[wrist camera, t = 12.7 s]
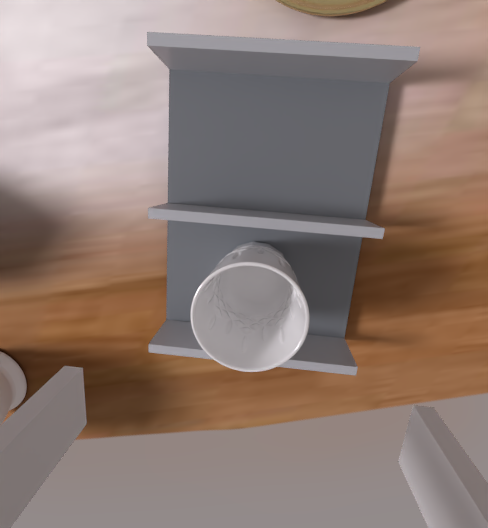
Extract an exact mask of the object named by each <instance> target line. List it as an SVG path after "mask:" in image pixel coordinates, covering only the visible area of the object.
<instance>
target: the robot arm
mask: <svg viewBox="0 0 488 528" xmlns="http://www.w3.org/2000/svg"><path fill="white" fill-rule="evenodd" d="M86 424H87V420H86V406H85V392H84V377H83V368H80V367H71V366H64V367H63V368H62V369H61V370H59V371H58V372H57V373H56V374H55V375H54V376H53V377H52V378H51V379H50V380H49V381H48V382H47V383H46V384H44V385H43V386H42V387H41V388H40V389H39V390H38V391H37V392H36V393H35V394H34V395H33V396H32V397H31V398H29V399H28V400H27V401H26V402H25V403H24V404H23V405H22V406H21V407H20V408H19V409H18V410H17V411H15V412H14V413H13V414H12V415H11V416H10V417H9V418H8V419H7V420H6V421H5V422H4V423H3V424H2V425H0V528H11V526H12V525H13V524H14V522H15V521H16V520H17V518H18V517H19V515H20V514H21V513H22V511H23V510H24V509H25V507H26V506H27V505H28V503H29V502H30V501H31V499H32V498H33V496H34V495H35V494H36V492H37V491H38V490H39V488H40V487H41V486H42V484H43V483H44V481H45V480H46V479H47V477H48V476H49V474H50V473H51V472H52V471H53V469H54V468H55V466H56V465H57V464H58V462H59V461H60V460H61V458H62V457H63V456H64V454H65V453H66V451H67V450H68V449H69V447H70V446H71V445H72V443H73V442H74V440H75V439H76V438H77V436H78V435H79V434H80V432H81V431H82V430H83V428H84V427H85V425H86ZM398 462H399V464H400V466H401V469H402V471H403V473H404V475H405V477H406V479H407V482H408V484H409V486H410V488H411V491H412V493H413V495H414V497H415V499H416V502H417V504H418V506H419V508H420V510H421V512H422V515H423V517H424V519H425V521H426V524H427V526H428V528H488V483H487V482H486V480H485V479H484V477H483V476H482V475H481V473H480V472H479V470H478V469H477V468H476V466H475V465H474V463H473V462H472V461H471V459H470V458H469V456H468V455H467V454H466V452H465V451H464V449H463V448H462V447H461V445H460V444H459V442H458V441H457V440H456V438H455V437H454V435H453V434H452V432H451V431H450V430H449V428H448V427H447V426H446V424H445V423H444V421H443V420H442V418H441V417H440V416H439V414H438V413H437V412H436V410H435V409H434V407H426V406H418V405H413V408H412V412H411V415H410V420H409V423H408V427H407V431H406V435H405V438H404V442H403V446H402V450H401V454H400V457H399V461H398Z"/></svg>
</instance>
